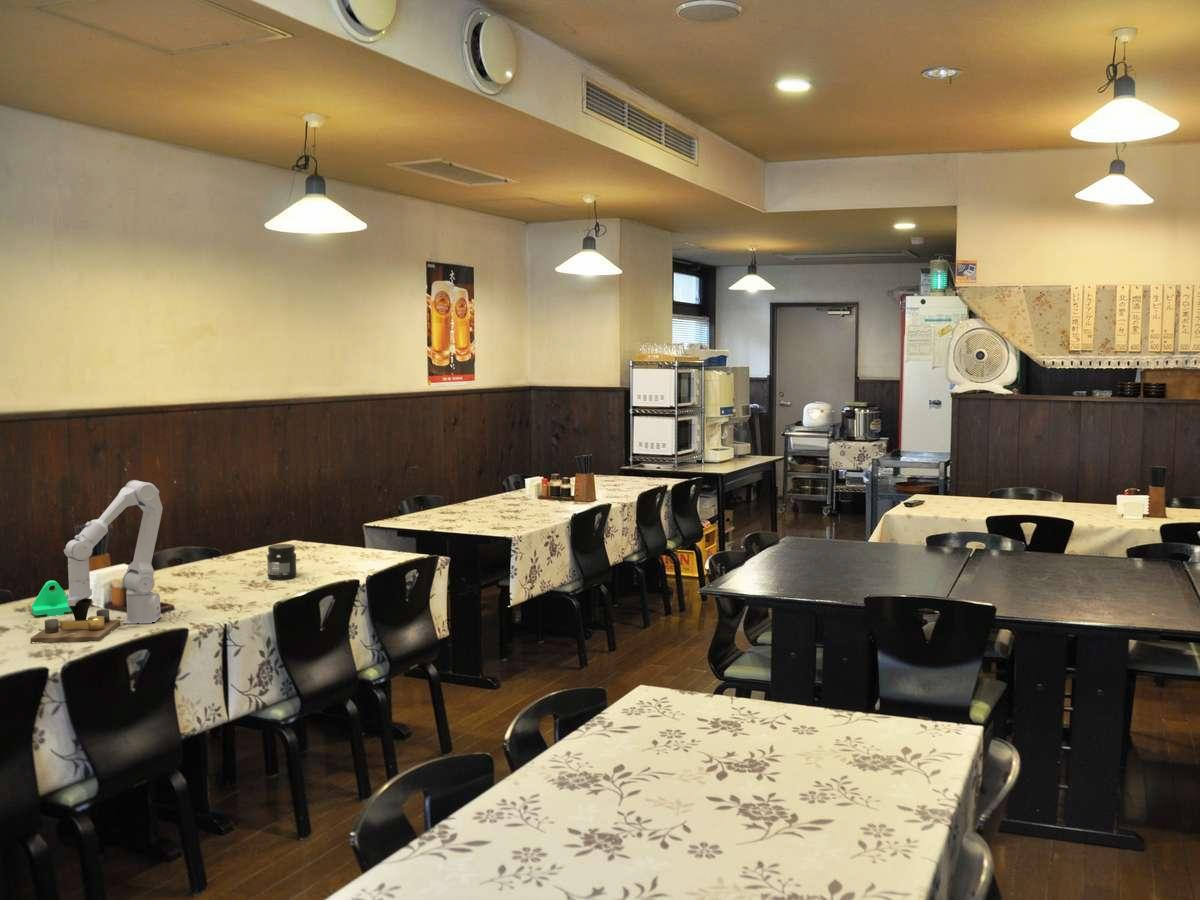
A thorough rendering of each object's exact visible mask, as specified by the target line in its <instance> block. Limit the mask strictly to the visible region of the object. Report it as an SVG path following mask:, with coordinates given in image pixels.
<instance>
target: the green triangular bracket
mask: <svg viewBox="0 0 1200 900" xmlns="http://www.w3.org/2000/svg"><path fill="white" fill-rule="evenodd" d="M52 586H54V589H50V587H52ZM66 594H67V592H65V590H64V589H63V588H62V587H61V585H60V584H59V582H57V581H56V580H52V579H51V580H48V581H46V582H45V584H44V585H43V586H42V588H41V589H40V591H39V593H38V595H37V596H36V597H35V599H34V601H33V602H32V604H31V612H32V614H33V615H34V616H43V615H45V616H46V617H47V616H51V617H57V616H56V615H59V616H64V614H65V613H66V612H68V613H69V612H72V610H71V608H70V607H69V606H68V603H67V600H68V599H69V597H65V595H66Z"/></svg>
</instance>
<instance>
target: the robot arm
mask: <svg viewBox="0 0 1200 900" xmlns="http://www.w3.org/2000/svg"><path fill="white" fill-rule="evenodd" d="M159 494H160V490H159V489H158V488H157V487H156V485H154V484H153V483H152V482H145V481H140V480H138V479H132V480H130V481H128V482H127V483H126V484H125V486H123V487H122V488H121V489H120V491H119V492H118V494H117V495H116V497H115V498H114V499H113V500H112V502H111V503H110V504H109V505H108V507H107V508H106V509H105V510H104V511H103V513H102V514H101V515H100V517H98V518H97V519H92V520H90V521H87V522H86V523H85V527H84V528H83V529H82V530H81V531H80V532H79V534H76V535H75V536H74V539H71V540H69V541H68V542H67V544H66V545H65V548H64V549H63V552H64V555H65V556H66V557H67V571H68V574H67V575H68V576H67V577H68V593H66V595H65V597H69V599H68V600H67V603H68V606H69V607H70V608H71V610H72V611H71V612H72V615H73V619H75V620H87V619H88V618H87V617H88V612H89V608H90V606H91V604H92V601H93V599H92V598H90V597H92V594H93V589H92V588H91V581H90V580H91V579H90V578H91V575H90V561H89V560H90V559H89V558H90V557H91V556H92V554H93V549H94V548H95V546H96V545H97V544H98V543H99V542H100V541H101V540H102V539H103V538H104V537H105V535H107V533H108V531H109V525H110V524H111V523H112V522H114V520H115V519H116V518H118V516H119V515H120V514H121V513H122V512H123V511H124V510H125V509H126V508H127V507H133V506H138V507H139V508H140V510H141V511H142V515H141V516H142V517H141V522H140V526H139V531H138V534H137V535H138V536H137V541H136V546H135V550H134V555H133V560H132V562H130V564H129V565H127V566H128V567H127V570H126V572H125V573H124V575H123V577H122V581H121V582H122V586H123V587H124V588H125V589H126V592H125V593H126V594H125V595H126V614H127V615H126V619H125V620H124V621H123V622H122V624H124V625H126V624H127V625H128V624H129V625H133V624H135V625H137V623H139V624H153V623H152V622H155V623H156V622H158V621H159V620H160V619H161V618H162V615H161V596H160V594H159V593H158V592H152V590H153V589H154V587H155V578H154V577H155V576H154V573H155V570H154V568H153V565H152V561H153V556H154V552H155V548H156V547H155V546H156V543H157V538H158V533H159V528H160V523H161V520H162V514H163V509H164V508H163V504H162V501H161V498H160V495H159ZM160 617H161V618H160ZM159 618H160V619H159Z"/></svg>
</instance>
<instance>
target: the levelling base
mask: <svg viewBox="0 0 1200 900" xmlns="http://www.w3.org/2000/svg"><path fill="white" fill-rule="evenodd" d="M95 612H96V616H103V617H104V627H105V628H104V629H100V630H89V629H61V626H60V621H62V620H75V618H73V619H72V618H69V619H67V618H65V619H64V618H63V619H57V618H50V619H46V620H44V629H42V630H41V631H39V632H38V633H36V634H35V635H33V636H31V637H30V643H31V642H63V643H86V642H85V641H99V642H101V641H100V640H103V639H105V638H106V637H107V636H109V635H110V634H111V633H112V632H114V631H115V630H116V629H117V628H118V627H120V626H121V620H119V619H116V620H110V618H111V617H110V609H108V608H106V609H105V608H104V609H97V610H96V611H95ZM119 625H120V626H119ZM115 628H116V629H115ZM114 629H115V630H114ZM111 631H112V632H111ZM110 632H111V633H110ZM105 636H106V637H105Z"/></svg>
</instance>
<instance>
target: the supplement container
mask: <svg viewBox="0 0 1200 900" xmlns="http://www.w3.org/2000/svg"><path fill="white" fill-rule="evenodd" d="M295 551H296V546H295V545H294V544H291V543H279V544H278V543H277V544H272V545H269V546H268V547H267V552H268V554H267V555H266V559H267V562H266V563H267V564H266V565H267V578H268V579H269V580H271V581H287V580H291V579H294V578H296V577H297V574H298V573H297V554H296V552H295Z"/></svg>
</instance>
